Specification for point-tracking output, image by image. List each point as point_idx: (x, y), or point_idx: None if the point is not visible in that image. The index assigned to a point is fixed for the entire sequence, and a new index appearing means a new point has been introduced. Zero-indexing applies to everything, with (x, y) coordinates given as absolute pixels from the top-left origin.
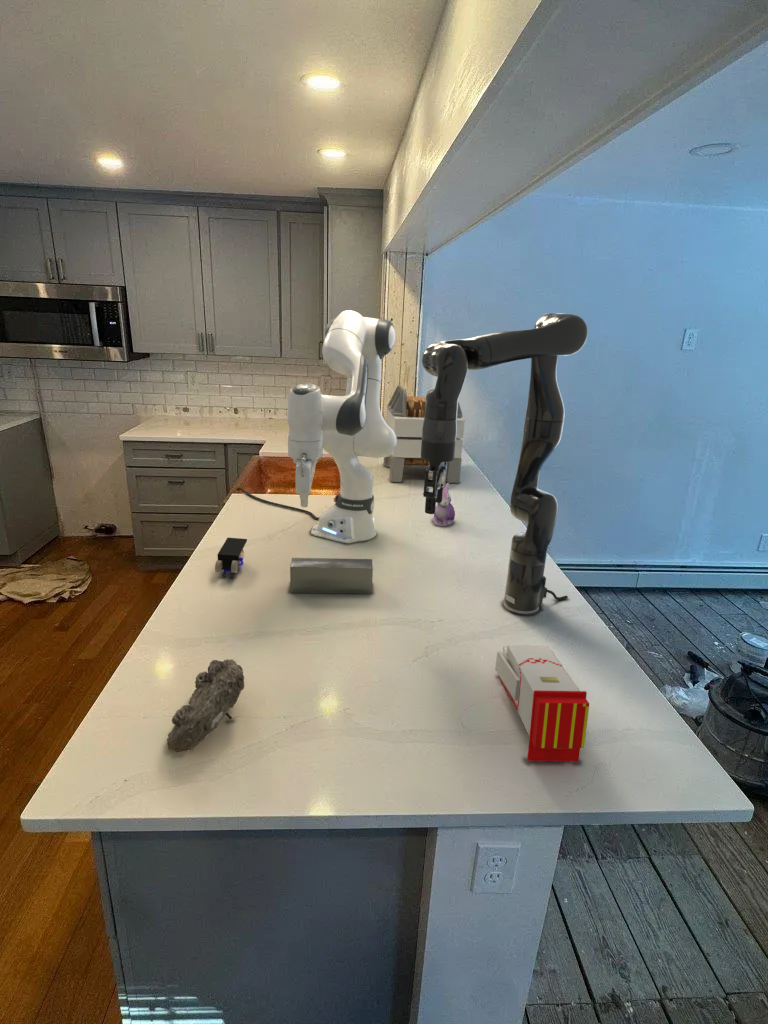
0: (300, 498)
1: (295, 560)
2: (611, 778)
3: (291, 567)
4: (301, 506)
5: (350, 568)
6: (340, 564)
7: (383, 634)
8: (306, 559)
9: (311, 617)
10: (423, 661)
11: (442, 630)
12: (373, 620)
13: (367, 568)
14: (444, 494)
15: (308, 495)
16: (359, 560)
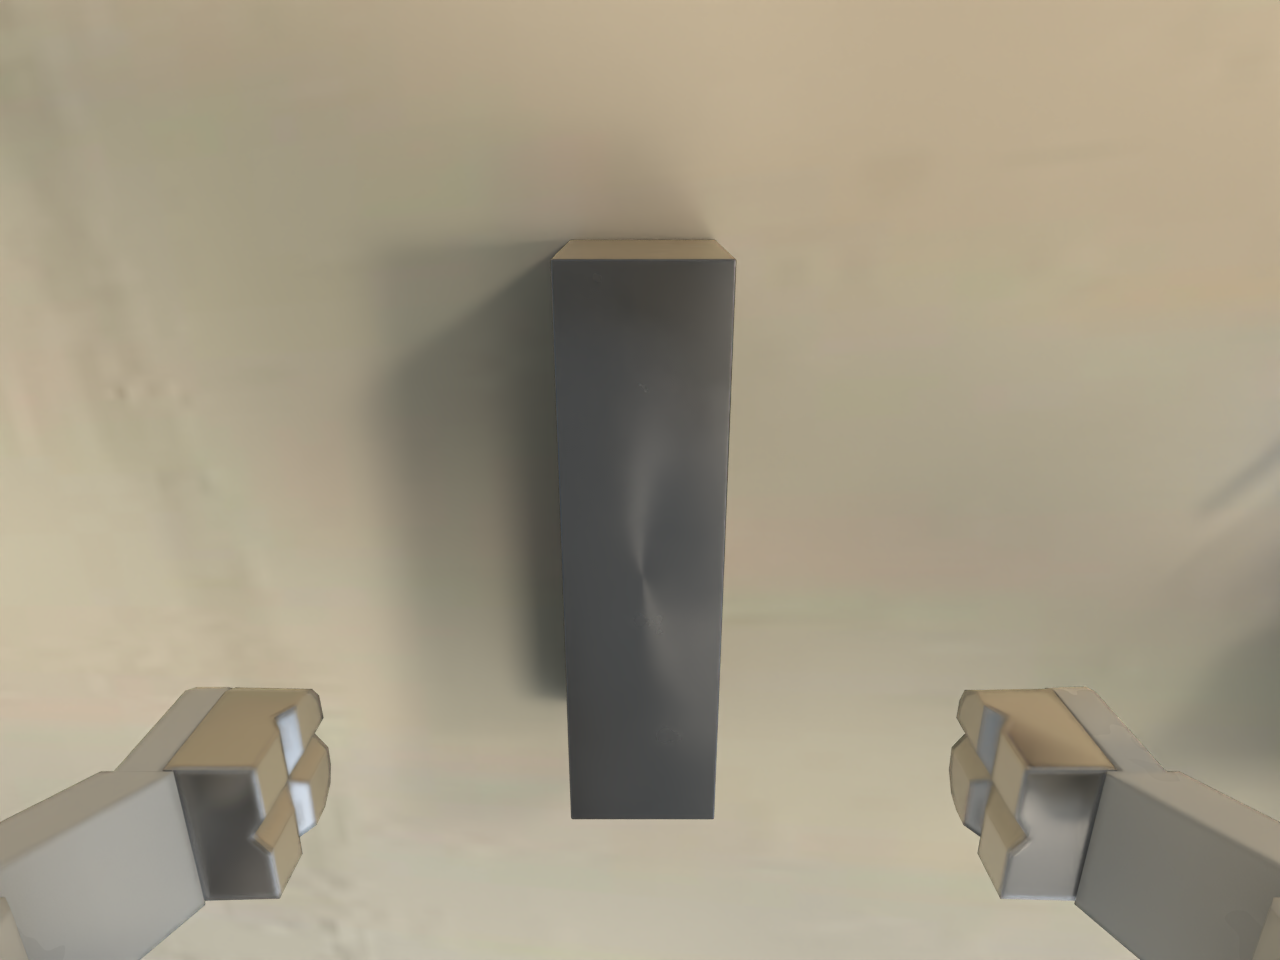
0: (15, 821)
1: (678, 294)
2: None
3: (551, 270)
4: (197, 693)
5: (567, 691)
6: (617, 632)
7: None
8: (699, 385)
9: (273, 397)
10: None
11: (262, 952)
12: None
13: (570, 788)
14: None
15: (952, 761)
16: (689, 748)
